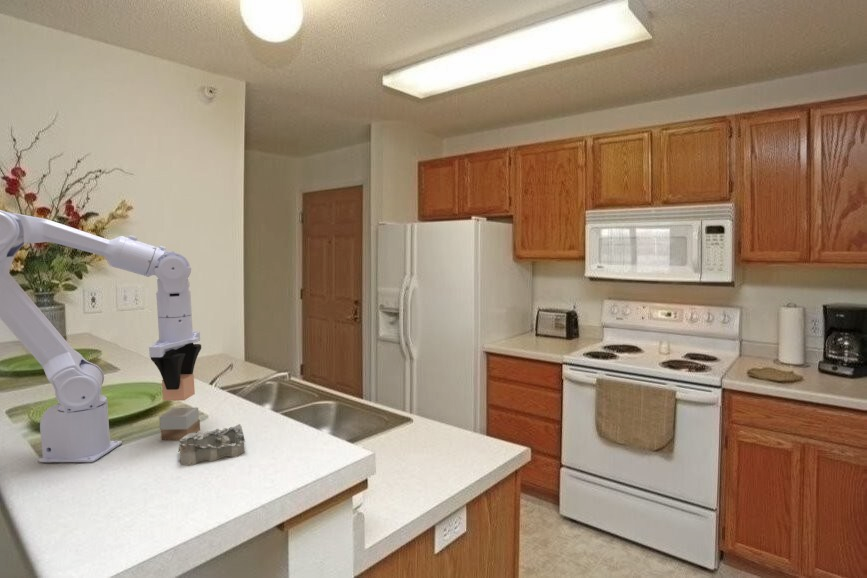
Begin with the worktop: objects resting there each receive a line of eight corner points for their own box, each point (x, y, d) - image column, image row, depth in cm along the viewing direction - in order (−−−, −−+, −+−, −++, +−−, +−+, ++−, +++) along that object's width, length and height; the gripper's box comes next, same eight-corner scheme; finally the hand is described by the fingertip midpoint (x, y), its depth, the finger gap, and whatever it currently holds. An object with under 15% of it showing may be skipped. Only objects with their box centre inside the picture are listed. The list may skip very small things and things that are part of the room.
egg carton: (178, 469, 81) (176, 446, 81) (180, 452, 88) (178, 430, 88) (246, 457, 86) (245, 434, 85) (243, 441, 92) (242, 420, 92)
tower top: (160, 429, 92) (159, 416, 92) (173, 420, 97) (172, 407, 97) (186, 429, 92) (186, 416, 92) (198, 419, 97) (198, 407, 97)
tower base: (161, 442, 93) (160, 429, 92) (175, 431, 98) (174, 419, 97) (187, 441, 93) (186, 429, 92) (200, 431, 98) (199, 419, 97)
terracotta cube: (163, 400, 92) (161, 379, 92) (174, 393, 96) (173, 374, 96) (184, 400, 92) (183, 379, 92) (194, 393, 96) (193, 374, 96)
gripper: (175, 321, 85) (180, 397, 87) (213, 310, 100) (216, 374, 101) (135, 322, 85) (140, 397, 87) (178, 310, 100) (182, 375, 101)
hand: (179, 385), depth 94 cm, fingers closed on terracotta cube, 4 cm apart
